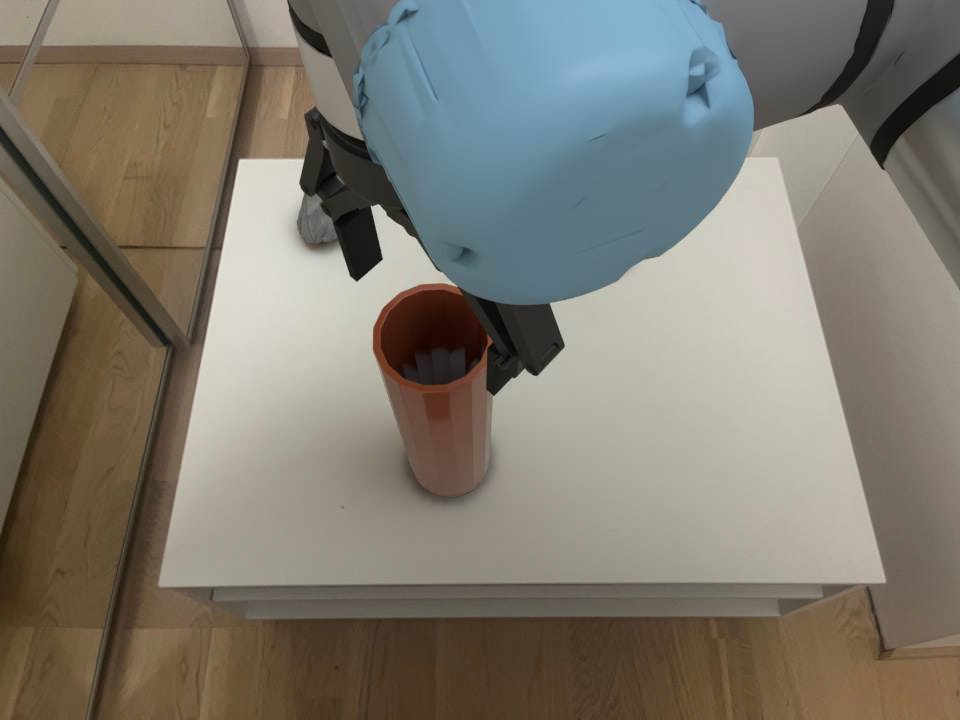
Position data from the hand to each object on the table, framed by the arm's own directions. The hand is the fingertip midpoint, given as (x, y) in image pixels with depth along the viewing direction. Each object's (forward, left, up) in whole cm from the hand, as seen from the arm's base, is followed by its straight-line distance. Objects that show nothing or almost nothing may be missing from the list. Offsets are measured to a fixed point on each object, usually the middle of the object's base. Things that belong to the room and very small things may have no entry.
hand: (432, 321), depth 48 cm
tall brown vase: (0, 0, -34) cm, 34 cm away
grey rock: (+36, -14, -34) cm, 51 cm away
